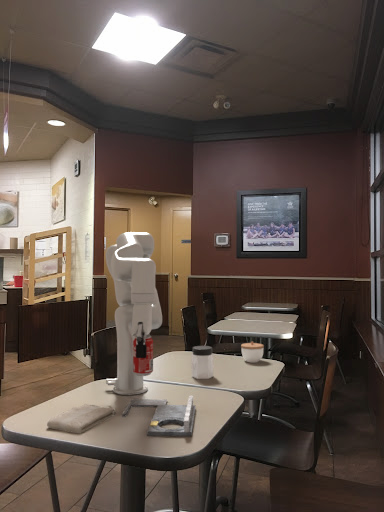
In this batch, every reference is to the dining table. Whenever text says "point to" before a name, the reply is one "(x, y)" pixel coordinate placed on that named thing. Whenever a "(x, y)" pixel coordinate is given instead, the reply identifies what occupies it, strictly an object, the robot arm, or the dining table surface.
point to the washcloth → (80, 418)
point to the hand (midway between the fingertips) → (143, 354)
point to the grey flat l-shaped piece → (143, 404)
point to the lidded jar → (252, 351)
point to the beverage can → (143, 359)
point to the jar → (202, 362)
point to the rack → (173, 419)
